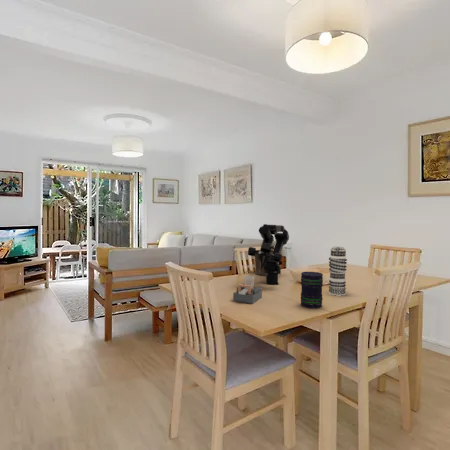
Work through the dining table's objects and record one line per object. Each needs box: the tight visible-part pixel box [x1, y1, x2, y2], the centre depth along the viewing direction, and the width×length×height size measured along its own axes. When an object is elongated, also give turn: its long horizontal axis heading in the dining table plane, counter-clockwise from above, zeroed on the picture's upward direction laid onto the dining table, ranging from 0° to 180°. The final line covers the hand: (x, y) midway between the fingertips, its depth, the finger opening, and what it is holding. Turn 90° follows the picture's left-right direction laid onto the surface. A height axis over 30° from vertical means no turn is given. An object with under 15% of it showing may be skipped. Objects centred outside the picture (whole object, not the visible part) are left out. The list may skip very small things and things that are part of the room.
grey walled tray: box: [232, 283, 263, 305], centre depth 163 cm, size 13×10×6 cm
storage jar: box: [300, 271, 324, 309], centre depth 153 cm, size 10×10×15 cm
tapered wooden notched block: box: [239, 275, 255, 295], centre depth 160 cm, size 10×4×7 cm, turn 154°
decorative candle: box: [328, 246, 348, 297], centre depth 174 cm, size 9×9×25 cm
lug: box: [237, 283, 251, 294], centre depth 159 cm, size 1×6×4 cm, turn 64°
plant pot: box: [253, 249, 273, 277], centre depth 227 cm, size 16×16×16 cm
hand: (261, 268), depth 180 cm, fingers closed
